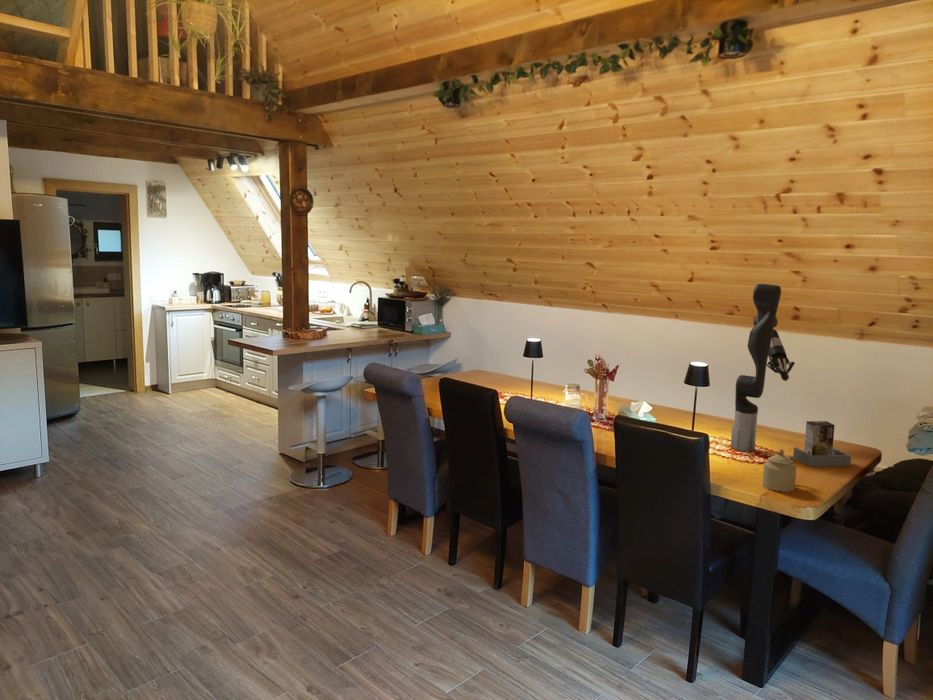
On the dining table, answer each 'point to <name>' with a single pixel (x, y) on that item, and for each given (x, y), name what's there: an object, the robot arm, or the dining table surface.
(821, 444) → the coffee box
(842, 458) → the box
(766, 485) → the sugar bowl
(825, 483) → the dining table surface
